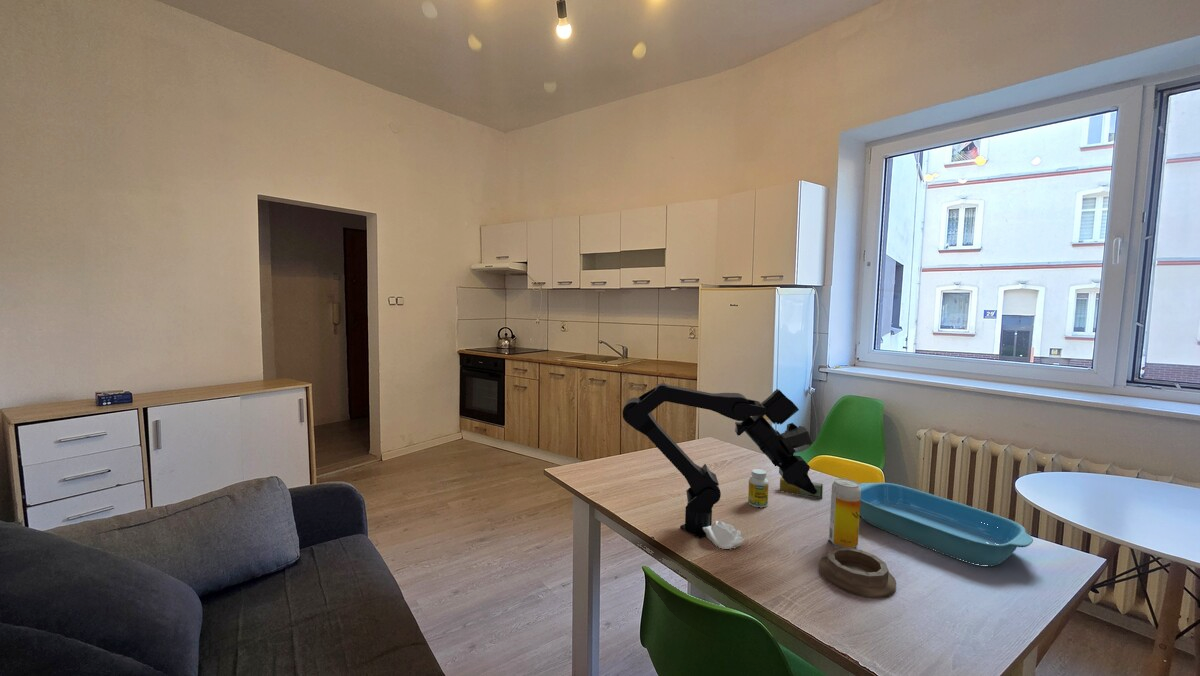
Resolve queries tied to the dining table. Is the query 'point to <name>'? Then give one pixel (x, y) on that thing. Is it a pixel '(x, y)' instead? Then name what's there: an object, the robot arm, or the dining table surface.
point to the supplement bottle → (758, 489)
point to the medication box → (795, 490)
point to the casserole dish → (941, 523)
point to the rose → (723, 535)
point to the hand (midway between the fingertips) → (809, 485)
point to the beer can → (845, 513)
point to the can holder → (857, 573)
